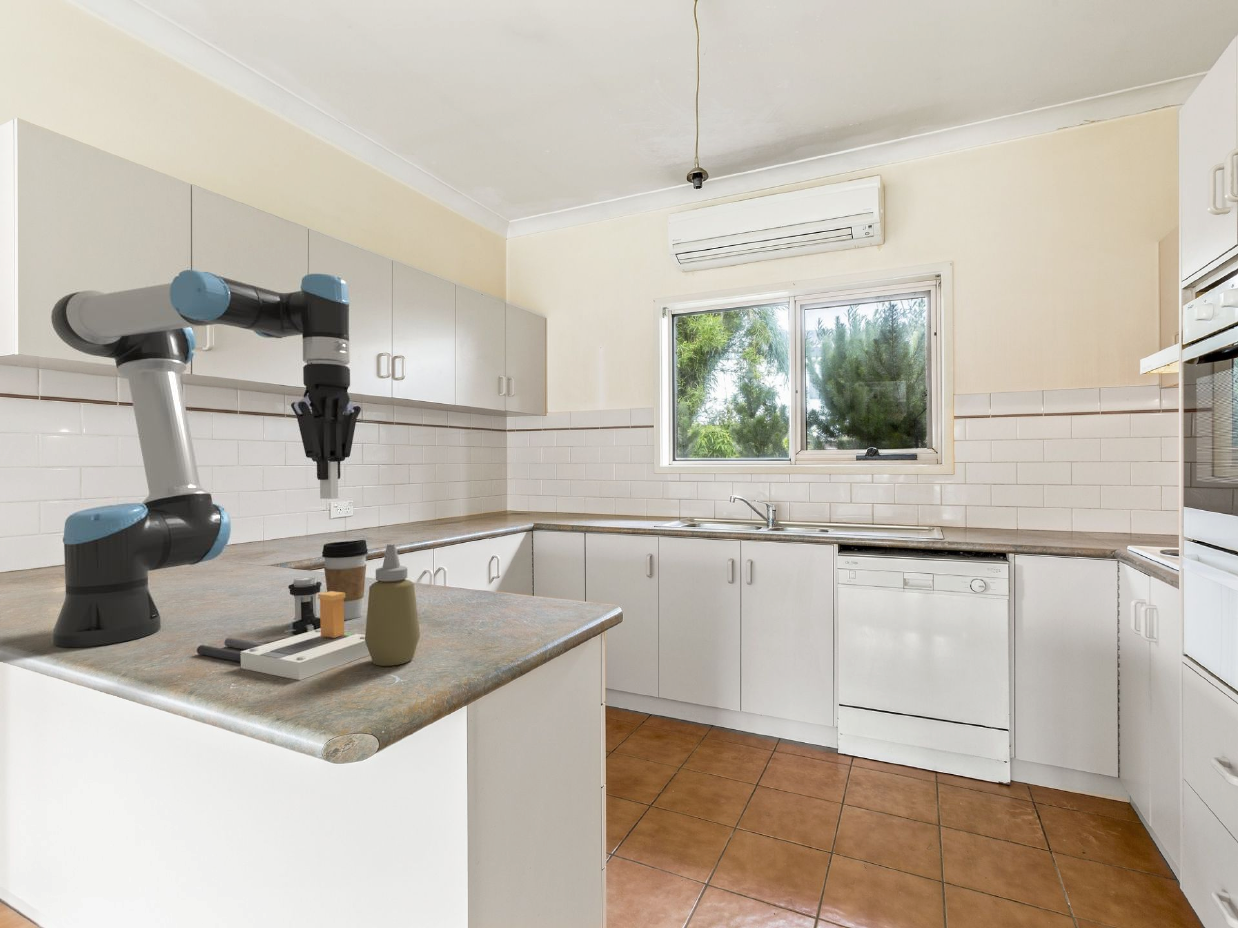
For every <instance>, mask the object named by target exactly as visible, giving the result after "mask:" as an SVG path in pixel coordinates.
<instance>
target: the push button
mask: <svg viewBox="0 0 1238 928" xmlns="http://www.w3.org/2000/svg"><path fill="white" fill-rule="evenodd" d="M322 585H323V584H322V582H320V581H317V577H315V576H308V577H307V576H306V577H298V578H294V579H293V582H292V584H289V585H288V586H287V587H288V590H289V595H291V596H294V597H293V598H294V617H293V620H294V621H291V623H290V629H287V630H285V631H283V632H284V633H290V634H288V635H284V637H283V638H284V639H286V638H289V637H292V636H296V635H299V634H303V633H306V632H310V631H313V630H317V629H320V628H321V621H320V617H318V613H317V594H320V593H321V586H322Z"/></svg>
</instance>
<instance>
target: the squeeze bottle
mask: <svg viewBox="0 0 1238 928" xmlns="http://www.w3.org/2000/svg"><path fill="white" fill-rule="evenodd" d="M400 563H401V562H400V559H399V555H398V550H397V546H396V544H395V543H394V544H392V543H391V544H386V547H385V554H384V559H383V564H382V567H377V568H376V569H375V580H376V581H375V582H373V583H372V584H371V585H370V586H369V588H368V589H369V590H368V601H367V610H366V622H365V634H364V635H365V643H366V645H367V648H368V651H369V653H370V655H369V656H370V658H371V661H372V663H373V665H375V666H382V667H384V666H385V667H386V666H397V665H401V664H402V665H403V664H405V663H408V662H410V661H412V660H413V659H414V655H415V653H416V651H417V650H416V649H417V648H418V647H417V646H418V643H419V640H420V636H421V632H420V624H419V623H420V622H419V617H418V609H417V599H416V592H415V584H414V582H413V581H411V580H409V579H407V578H408V567H407V566H404V565H401V564H400Z"/></svg>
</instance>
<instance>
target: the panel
mask: <svg viewBox="0 0 1238 928" xmlns="http://www.w3.org/2000/svg"><path fill="white" fill-rule="evenodd" d="M264 644H265V645H262V646H258V647H255V648H251V649H248V650H244V649H243V650H241V651H240V652H241V662H240V669H243V670H247V671H254V672H259V673H263V674H268V675H272V676H273V675H274V676H276V677H277V676H278V677H283V678H286V679H287V678H288V679H291V680H292V679H293V680H297V681H301V680H303V679H306V678H307V679H308V678H310V677H312V676H315V675H318V674H321V673H324V672H326V671H329V670H332V669H335V668H337V667H340V666H343V665H346V664H348V663H352V662H353V661H356V660H360V659H361V658H365V657H368V656H370V653H369V651H368V648H367V645H366V643H365V634H360V633H356V632H352V631H351V632H350V631H345V630H344V635H342V636H339V637H335V638H331V637H324V636H321V628H320V629H317V630H313V631H310V632H306V633H303V634H299V635H296V636H292V637H287V638H283V639H279V640H276V641H273V642H269V643H264Z"/></svg>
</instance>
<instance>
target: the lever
mask: <svg viewBox="0 0 1238 928" xmlns="http://www.w3.org/2000/svg"><path fill="white" fill-rule="evenodd" d="M317 598H318V599H317V600H319V606H320V607H319V615H320V617H319V618H320V621H321V636H324V637H331V638H335V637H339V636H342V635H344V631H345V620H344V598H345V593H343V592H334V591H329V592H327V591H325V592H319V593H317Z"/></svg>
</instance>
